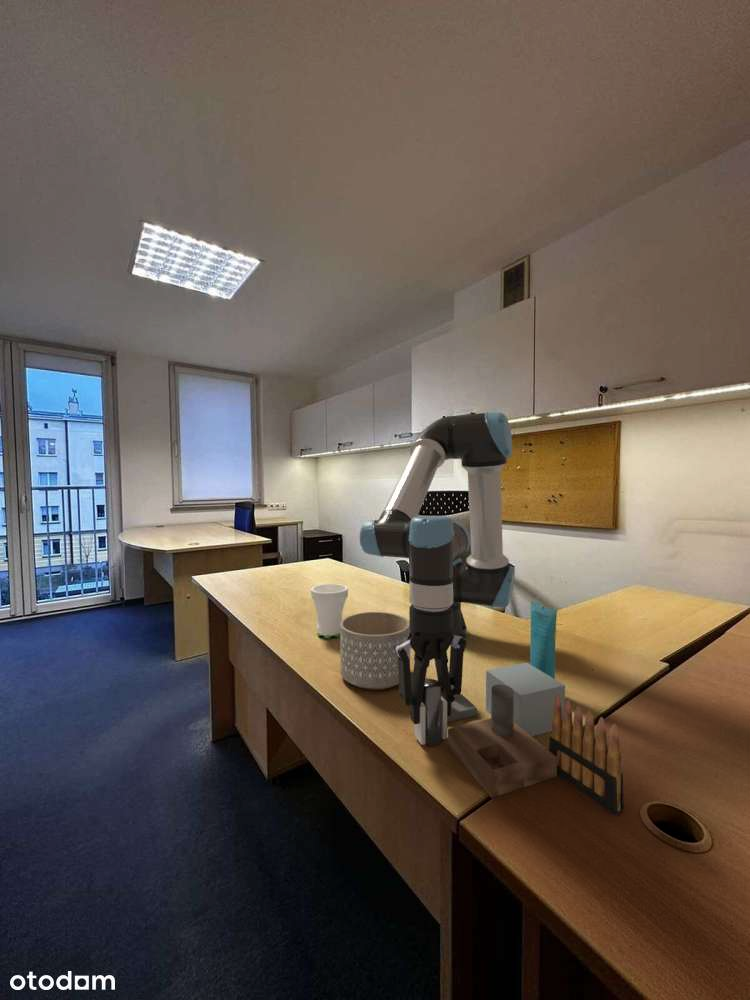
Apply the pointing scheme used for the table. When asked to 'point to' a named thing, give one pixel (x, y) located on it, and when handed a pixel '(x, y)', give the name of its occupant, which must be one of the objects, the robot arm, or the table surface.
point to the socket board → (501, 749)
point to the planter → (371, 648)
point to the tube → (543, 638)
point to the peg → (432, 712)
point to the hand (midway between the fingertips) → (430, 736)
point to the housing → (528, 695)
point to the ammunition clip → (587, 756)
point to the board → (461, 708)
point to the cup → (329, 607)
